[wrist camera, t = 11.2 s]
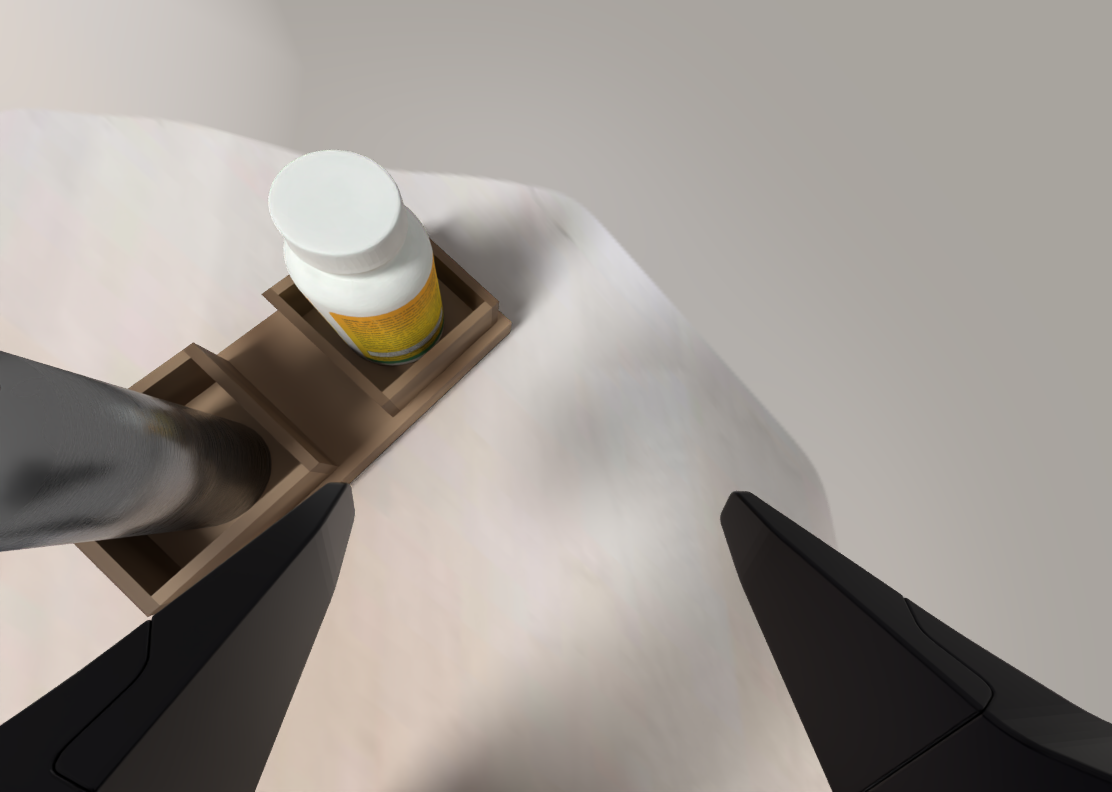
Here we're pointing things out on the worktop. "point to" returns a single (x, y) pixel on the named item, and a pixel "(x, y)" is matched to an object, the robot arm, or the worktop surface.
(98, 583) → the worktop surface
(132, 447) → the graphite billet
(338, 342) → the wooden compartment tray
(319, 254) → the supplement bottle
